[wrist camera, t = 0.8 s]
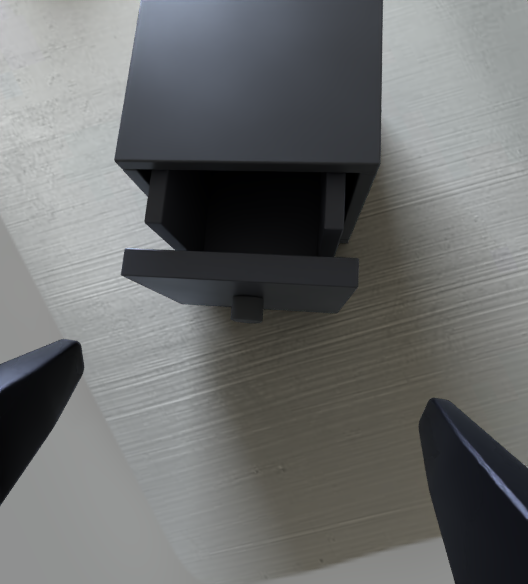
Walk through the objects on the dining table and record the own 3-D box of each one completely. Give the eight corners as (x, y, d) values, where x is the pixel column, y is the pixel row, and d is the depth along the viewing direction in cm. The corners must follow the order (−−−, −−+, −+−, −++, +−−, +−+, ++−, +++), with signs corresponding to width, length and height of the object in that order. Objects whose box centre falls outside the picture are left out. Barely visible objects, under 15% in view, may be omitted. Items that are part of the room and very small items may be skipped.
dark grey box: (347, 243, 23) (380, 164, 14) (184, 237, 24) (113, 160, 15) (353, 82, 25) (384, -80, 16) (203, 84, 26) (150, -65, 17)
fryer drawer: (336, 333, 21) (357, 318, 13) (178, 323, 22) (116, 303, 14) (343, 148, 23) (364, 46, 16) (199, 147, 24) (154, 51, 17)
